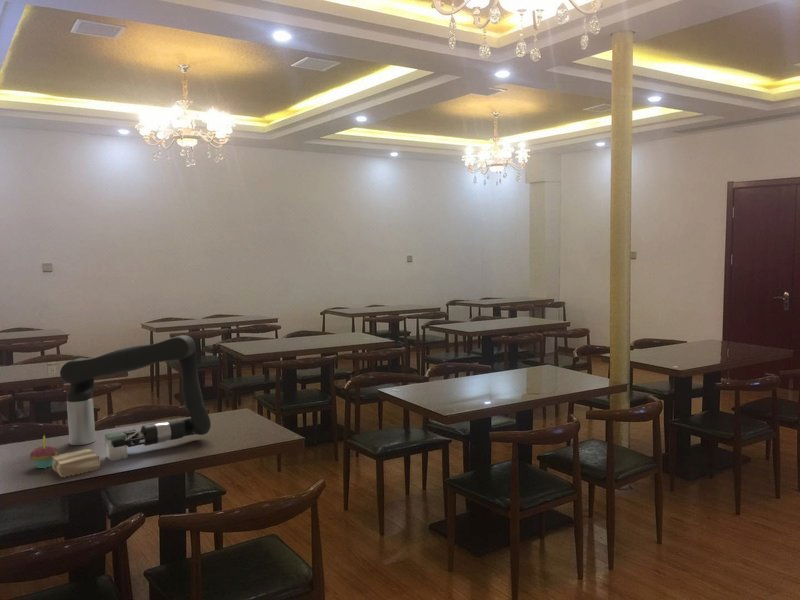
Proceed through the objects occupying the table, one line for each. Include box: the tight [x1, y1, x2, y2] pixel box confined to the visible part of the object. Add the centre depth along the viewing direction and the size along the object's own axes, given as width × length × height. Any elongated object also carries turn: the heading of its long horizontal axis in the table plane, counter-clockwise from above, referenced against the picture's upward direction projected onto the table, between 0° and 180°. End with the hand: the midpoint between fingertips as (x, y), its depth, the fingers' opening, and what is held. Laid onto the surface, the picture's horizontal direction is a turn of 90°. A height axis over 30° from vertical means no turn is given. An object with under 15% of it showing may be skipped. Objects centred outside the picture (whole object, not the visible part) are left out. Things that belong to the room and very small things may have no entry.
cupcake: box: [29, 434, 59, 469], centre depth 226 cm, size 9×8×12 cm
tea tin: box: [104, 430, 129, 461], centre depth 235 cm, size 6×6×8 cm
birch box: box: [51, 448, 101, 478], centre depth 223 cm, size 12×12×5 cm
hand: (110, 442), depth 234 cm, fingers open, 8 cm apart
